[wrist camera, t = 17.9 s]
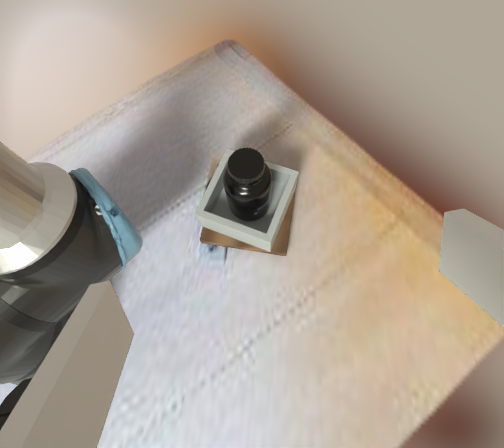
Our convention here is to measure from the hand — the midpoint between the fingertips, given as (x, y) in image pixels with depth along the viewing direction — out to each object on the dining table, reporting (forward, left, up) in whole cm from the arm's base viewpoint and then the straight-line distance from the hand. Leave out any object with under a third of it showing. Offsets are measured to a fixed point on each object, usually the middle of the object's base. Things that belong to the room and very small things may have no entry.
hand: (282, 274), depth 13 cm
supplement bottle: (-9, +16, -35) cm, 39 cm away
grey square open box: (-9, +16, -36) cm, 40 cm away
